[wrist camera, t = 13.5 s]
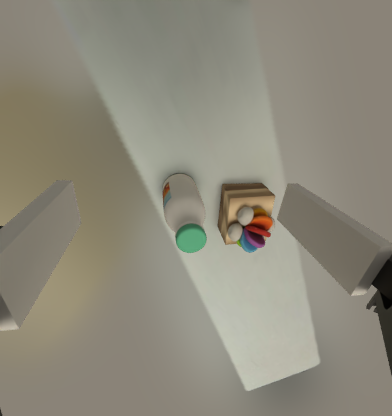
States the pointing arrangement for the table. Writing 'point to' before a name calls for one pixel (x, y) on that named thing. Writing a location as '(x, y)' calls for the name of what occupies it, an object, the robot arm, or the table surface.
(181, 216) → the milk bottle
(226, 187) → the tower base
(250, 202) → the tower top
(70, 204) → the robot arm
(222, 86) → the table surface
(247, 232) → the multicoloured petal toy
